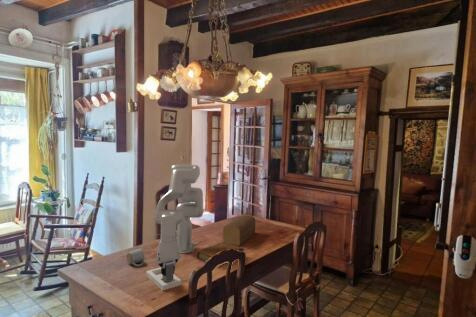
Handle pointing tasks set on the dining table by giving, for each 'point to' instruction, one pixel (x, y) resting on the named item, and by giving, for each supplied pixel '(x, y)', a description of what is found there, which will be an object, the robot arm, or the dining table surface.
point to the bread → (239, 230)
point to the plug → (169, 270)
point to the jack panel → (160, 281)
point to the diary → (215, 250)
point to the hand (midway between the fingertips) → (168, 273)
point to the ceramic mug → (136, 257)
